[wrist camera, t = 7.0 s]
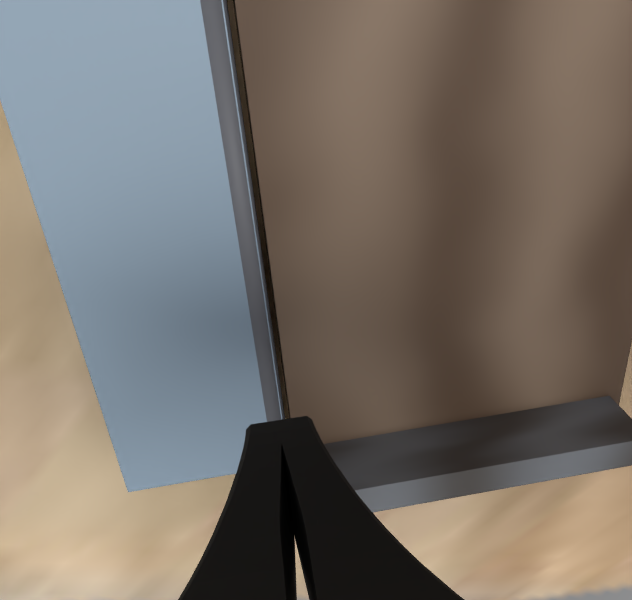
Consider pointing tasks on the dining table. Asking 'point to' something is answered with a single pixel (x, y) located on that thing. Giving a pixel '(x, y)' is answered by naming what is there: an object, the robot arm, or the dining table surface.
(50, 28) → the bar
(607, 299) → the flatbed
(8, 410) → the dining table surface
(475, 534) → the dining table surface
